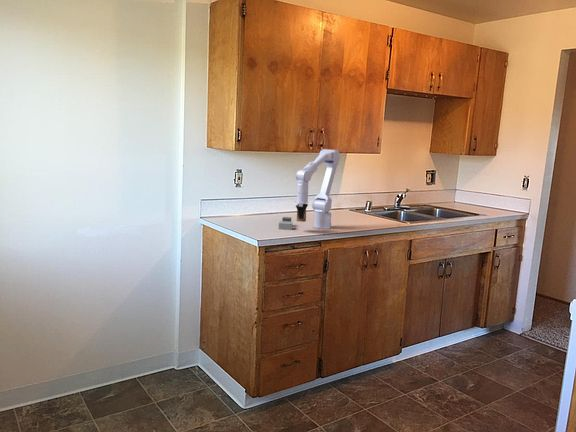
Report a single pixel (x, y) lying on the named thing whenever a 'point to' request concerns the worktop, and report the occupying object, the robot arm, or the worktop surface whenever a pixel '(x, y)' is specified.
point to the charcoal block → (286, 219)
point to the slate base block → (285, 225)
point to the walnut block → (303, 217)
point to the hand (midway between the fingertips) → (301, 218)
